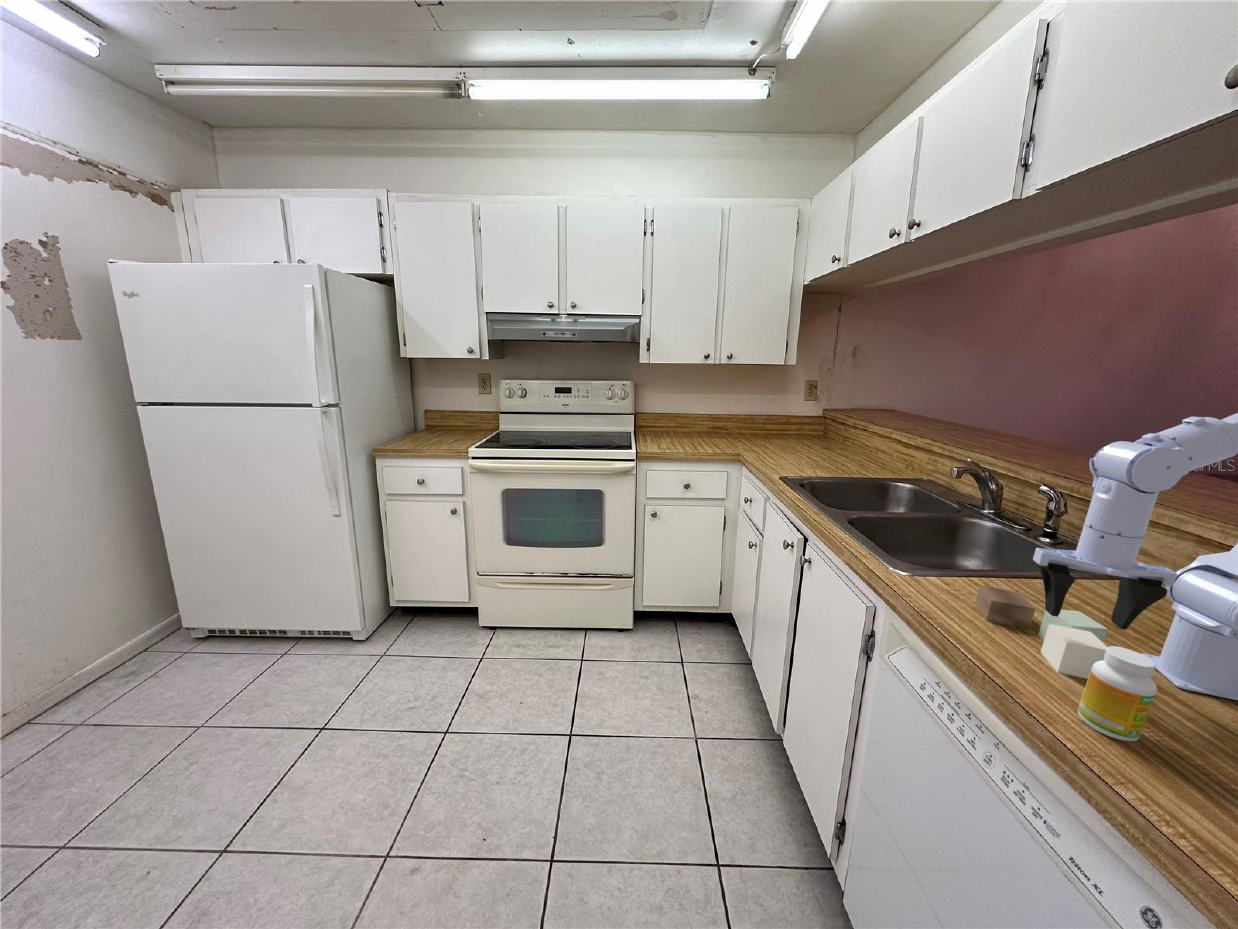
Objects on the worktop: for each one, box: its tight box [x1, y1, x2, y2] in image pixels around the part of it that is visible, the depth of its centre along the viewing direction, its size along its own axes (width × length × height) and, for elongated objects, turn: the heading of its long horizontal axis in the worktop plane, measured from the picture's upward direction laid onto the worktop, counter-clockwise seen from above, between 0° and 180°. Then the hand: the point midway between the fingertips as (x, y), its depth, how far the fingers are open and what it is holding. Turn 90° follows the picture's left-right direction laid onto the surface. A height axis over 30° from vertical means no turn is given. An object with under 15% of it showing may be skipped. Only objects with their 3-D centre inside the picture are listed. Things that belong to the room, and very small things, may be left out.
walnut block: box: [974, 584, 1036, 630], centre depth 81 cm, size 6×6×4 cm
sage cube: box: [1037, 609, 1109, 644], centre depth 73 cm, size 5×5×5 cm
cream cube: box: [1040, 624, 1109, 680], centre depth 68 cm, size 5×5×5 cm
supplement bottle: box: [1077, 645, 1158, 742], centre depth 56 cm, size 5×5×10 cm
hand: (1084, 619), depth 67 cm, fingers open, 7 cm apart
